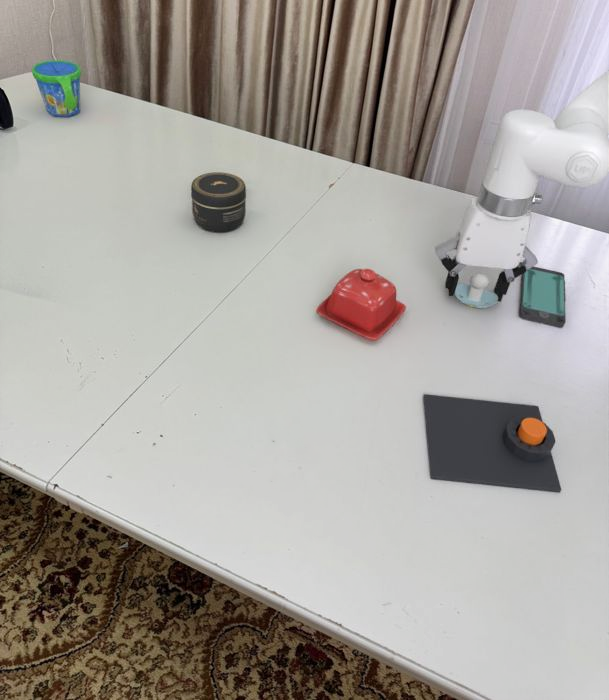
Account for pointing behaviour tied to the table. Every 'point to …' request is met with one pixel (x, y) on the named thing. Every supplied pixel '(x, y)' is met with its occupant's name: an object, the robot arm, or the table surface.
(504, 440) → the dark grey flat plate
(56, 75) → the snack cup
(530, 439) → the button
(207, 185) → the jar
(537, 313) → the smartphone
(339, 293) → the butter dish
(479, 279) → the pacifier
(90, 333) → the table surface
